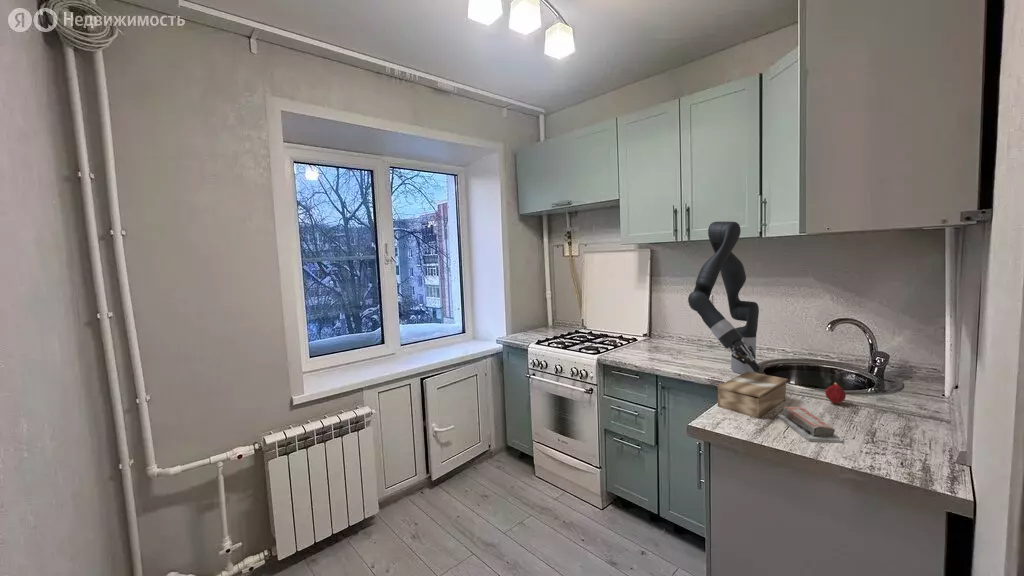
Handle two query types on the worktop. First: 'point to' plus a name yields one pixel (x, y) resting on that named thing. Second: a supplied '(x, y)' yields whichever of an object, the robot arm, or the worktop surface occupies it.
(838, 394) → the onion
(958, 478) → the worktop surface
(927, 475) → the worktop surface
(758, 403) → the carton
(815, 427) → the packaged product
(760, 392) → the carton lid
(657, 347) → the worktop surface
